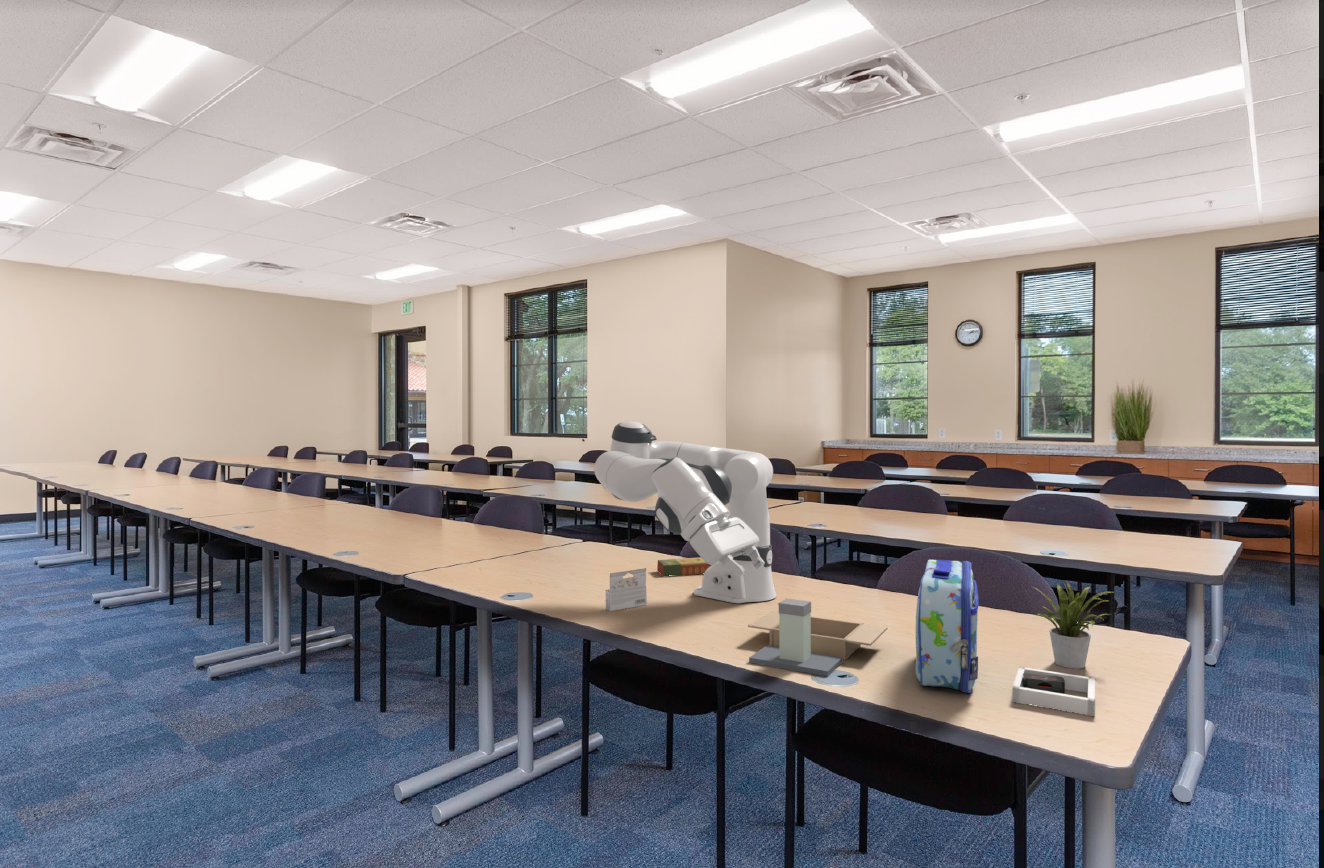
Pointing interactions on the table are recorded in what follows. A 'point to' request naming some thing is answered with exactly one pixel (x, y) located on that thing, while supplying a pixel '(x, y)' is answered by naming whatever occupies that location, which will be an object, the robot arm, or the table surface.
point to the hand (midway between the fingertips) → (752, 570)
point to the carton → (682, 566)
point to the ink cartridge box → (626, 590)
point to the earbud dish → (1057, 699)
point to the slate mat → (812, 665)
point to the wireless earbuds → (1044, 682)
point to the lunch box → (947, 626)
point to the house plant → (1071, 627)
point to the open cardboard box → (826, 634)
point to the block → (795, 630)
